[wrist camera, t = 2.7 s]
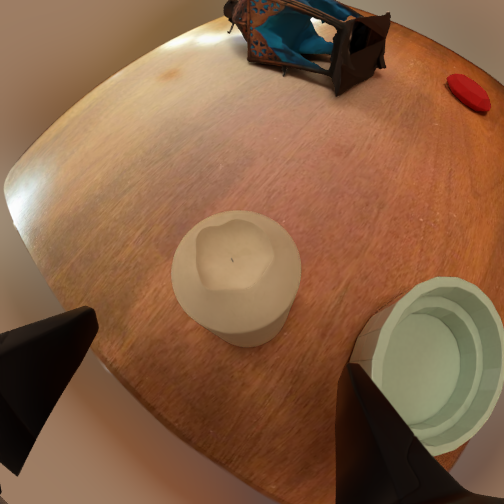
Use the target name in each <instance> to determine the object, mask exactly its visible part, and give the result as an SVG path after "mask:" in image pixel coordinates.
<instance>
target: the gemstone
mask: <svg viewBox="0 0 504 504" xmlns="http://www.w3.org/2000/svg"><path fill="white" fill-rule="evenodd" d="M447 82H448V84H449V87H450V89H451V91H452V93H453V94H454V95H455V96H456V97H457V98H458V99H459V100H460V101H461V102H462V103H463V104H465V105H466V106H468V107H470V108H471V109H473V110H475V111H489V110H490V108H491V103H490V100H489V97H488V95H487V93H486V91H485V90H484V89H483V88H482V87H481V86H479V85H478V84H477V83H476V82H475V81H473V80H472V79H470V78H468V77H467V76H465V75H462V74H452V75H450V76H449V77H447Z"/></svg>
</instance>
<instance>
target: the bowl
mask: <svg viewBox="0 0 504 504" xmlns="http://www.w3.org/2000/svg"><path fill="white" fill-rule="evenodd" d="M349 363H358V364H360V365H361V366H362V368H363V369H364V370H365V371H366V373H367V374H368V375H369V377H370V378H371V379H372V380H373V382H374V383H375V384H376V385H377V387H378V388H379V389H380V390H381V392H382V393H383V394H384V396H385V397H386V398H387V399H388V401H389V402H390V403H391V404H392V406H393V407H394V408H395V410H396V411H397V412H398V413H399V415H400V416H401V417H402V418H403V420H404V421H405V422H406V424H407V425H408V426H409V428H410V429H411V430H412V431H413V433H414V436H417V438H418V439H419V440H420V442H421V443H422V444H423V445H424V447H425V448H426V449H427V450H428V451H429V453H430V454H431V455H432V456H437V455H440V454H443V453H447V452H450V451H453V450H454V449H456V448H458V447H459V446H461V445H462V444H464V443H465V442H466V441H468V440H469V439H470V438H472V437H473V436H474V435H475V434H476V433H477V432H478V431H479V430H480V428H481V427H482V426H483V425H484V423H485V422H486V421H487V419H488V418H489V416H490V415H491V413H492V411H493V409H494V407H495V405H496V403H497V401H498V398H499V396H500V394H501V391H502V387H503V383H504V329H503V325H502V321H501V318H500V317H499V315H498V313H497V311H496V309H495V307H494V305H493V304H492V302H491V301H490V299H489V298H488V297H487V296H486V295H485V294H484V293H483V292H482V291H481V290H480V289H479V288H478V287H477V286H475V285H474V284H472V283H469V282H467V281H465V280H463V279H461V278H457V277H435V278H432V279H430V280H427V281H425V282H422V283H420V284H417V285H416V286H414V287H413V288H411V289H410V290H408V291H406V292H405V293H403V294H402V295H400V296H399V297H397V298H395V299H394V300H392V301H390V302H389V303H387V304H386V305H385V306H384V307H383V308H381V309H380V310H379V311H378V312H377V313H375V314H374V315H373V316H372V317H371V318H370V320H369V321H368V323H367V324H366V326H365V327H364V328H363V330H362V331H361V333H360V334H359V336H358V338H357V341H356V344H355V347H354V350H353V353H352V355H351V358H350V362H349Z"/></svg>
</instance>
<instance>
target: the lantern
mask: <svg viewBox="0 0 504 504" xmlns="http://www.w3.org/2000/svg"><path fill="white" fill-rule="evenodd" d="M224 15H225V16H226V17H227V18H229V21H230V22H231V23H232V26H231V29H230V31H229V32H228V33H229V34H230V32H231V30H232V28H233V26H234V24H236V25H237V27H238V29H239V30H240V31H241V33H242V35H243V37H244V39H245V40H246V41H247V46H248V56H247V60H248V61H249V62H256V63H263V64H271V65H277V66H282V70H283V73H282V75H283V77H284V76H285V74H286V69H287V68H295V69H300V70H305V71H310V72H314V73H319V74H323V75H326V76H329V77H331V78H332V82H333V84H334V87H335V94H336V97H337V96H340V95H341V94H342V93H343V92H345V91H346V90H347V89H349V88H350V87H352V86H354V85H356V84H358V83H359V82H362V81H364V80H366V79H368V78H369V77H372V76H373V74H374V71H375V69H376V68H378V69H382V68H386V65H385V61H384V53H385V40H386V36H387V33H388V30H389V27H390V18H391V15H390V12H389V11H387V13H386V14H385V15H382V16H370V17H364V16H362V15H360V14H359V13H357V12H356V11H354V10H352V9H351V8H349V7H348V6H346V5H344V4H342V3H340V2H338V1H336V0H239V1H238V0H228V2H227V3H226V4H225V6H224ZM350 15H352V16H353V17H356V19H351V20H348V21H346V22H342V21H345V20H347V17H348V16H350ZM312 17H314V18H315V19H319V20H321V21H322V23H325V22H326V23H327V24H329V25H332V26H334V27H335V28H336V30H337V33H336V34H335V36H334V37H333V43H332V42H326V41H325V40H324V38H323V37H321V36H318V34H317V33H316V31H315V29H314V26H313V24H312V22H311V21H310V19H311V18H312ZM340 20H342V21H340ZM300 54H329V55H331V58H330V61H331V65H330V68H329V70H325V69H323V68H321V67H320V66H318V65H317V64H315V63H314V62H313V63H312V62H310V61H309V60H307V59H305V58H304V57H302V56H301V55H300Z"/></svg>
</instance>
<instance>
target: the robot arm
mask: <svg viewBox="0 0 504 504" xmlns="http://www.w3.org/2000/svg"><path fill="white" fill-rule="evenodd" d="M98 329H99V325H98V321H97V317H96V313H95V310H94V309H93V308H91V307H88V306H82V307H79V308H76V309H73V310H70V311H67V312H64V313H62V314H59V315H55V316H52V317H49V318H46V319H43V320H40V321H37V322H34V323H31V324H29V325H25V326H23V327H19V328H16V329H13V330H11V331H7V332H4V333H1V334H0V463H2V464H3V465H4V466H5V467H6V468H7V469H9V470H10V471H11V472H12V473H13V474H15V475H16V476H18V475H19V473H20V471H21V469H22V467H23V465H24V463H25V461H26V459H27V457H28V455H29V453H30V451H31V449H32V447H33V445H34V443H35V441H36V439H37V437H38V435H39V433H40V431H41V430H42V428H43V426H44V424H45V422H46V421H47V419H48V417H49V415H50V413H51V412H52V410H53V408H54V406H55V405H56V403H57V401H58V399H59V398H60V396H61V395H62V393H63V391H64V390H65V388H66V386H67V385H68V383H69V382H70V380H71V378H72V377H73V375H74V373H75V372H76V370H77V369H78V367H79V366H80V364H81V362H82V361H83V359H84V357H85V355H86V353H87V351H88V349H89V347H90V345H91V343H92V342H93V340H94V338H95V336H96V334H97V332H98ZM335 445H336V504H504V498H497V497H491V496H484V495H479V494H475V493H472V492H470V491H468V490H466V489H465V488H463V487H462V486H461V485H460V484H459V483H458V482H457V481H456V480H455V479H454V478H453V477H452V476H451V475H450V474H449V473H448V472H447V471H446V470H445V469H444V468H443V467H442V466H441V465H440V464H439V463H438V462H437V460H436V459H435V458H434V457H433V456H432V455H431V454H430V453H429V451H428V450H427V449H426V448H425V447H424V445H423V444H422V443H421V442H420V440H419V439H418V438H417V436H414V433H413V431H412V430H411V429H410V428H409V426H408V425H407V424H406V422H405V421H404V420H403V418H402V417H401V416H400V415H399V413H398V412H397V411H396V410H395V408H394V407H393V406H392V404H391V403H390V402H389V401H388V399H387V398H386V397H385V396H384V394H383V393H382V392H381V390H380V389H379V388H378V387H377V385H376V384H375V383H374V382H373V380H372V379H371V378H370V377H369V375H368V374H367V373H366V371H365V370H364V369H363V368H362V366H361V365H360V364H358V363H347V364H346V365H345V367H344V369H343V371H342V374H341V376H340V378H339V381H338V389H337V405H336V418H335ZM1 492H2V491H1V486H0V494H1ZM0 504H8V503H7V502H6V501H5V500H3V498H2V497H1V496H0Z"/></svg>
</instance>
